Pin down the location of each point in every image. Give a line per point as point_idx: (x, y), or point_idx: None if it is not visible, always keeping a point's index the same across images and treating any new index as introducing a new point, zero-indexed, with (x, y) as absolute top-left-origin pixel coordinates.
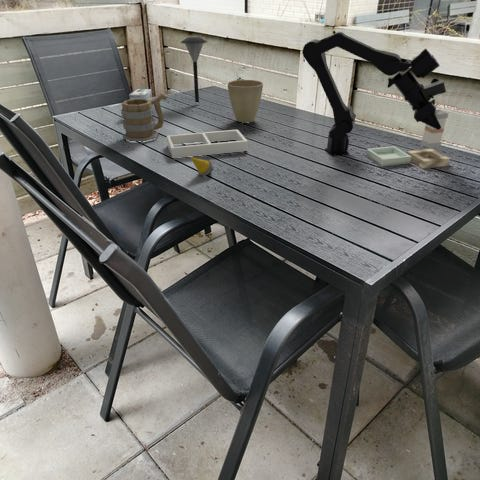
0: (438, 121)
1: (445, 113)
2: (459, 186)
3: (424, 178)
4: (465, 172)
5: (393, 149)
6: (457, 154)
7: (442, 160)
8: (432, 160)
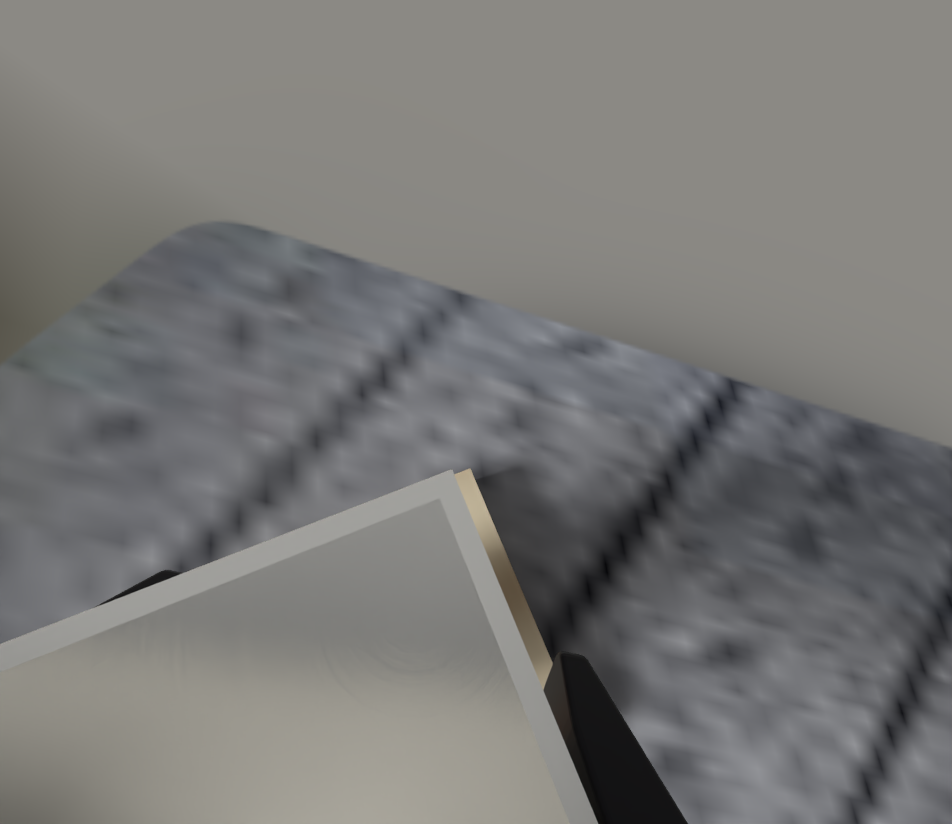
0: (602, 781)
1: (467, 578)
2: (869, 518)
3: (799, 774)
4: (590, 395)
5: None
6: (186, 333)
7: (499, 546)
8: (551, 660)
